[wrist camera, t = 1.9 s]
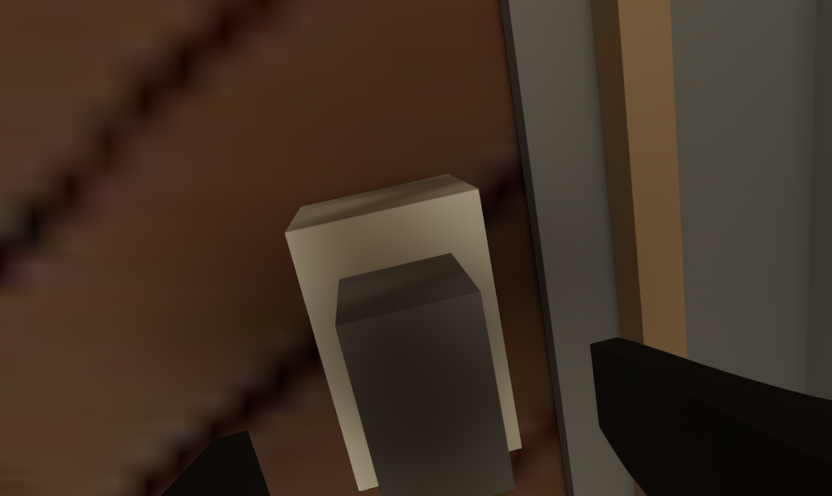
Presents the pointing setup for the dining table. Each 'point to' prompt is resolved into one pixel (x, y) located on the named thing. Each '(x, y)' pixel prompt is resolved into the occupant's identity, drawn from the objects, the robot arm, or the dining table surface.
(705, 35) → the wall board
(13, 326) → the dining table surface
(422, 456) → the cabinet block
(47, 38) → the dining table surface
